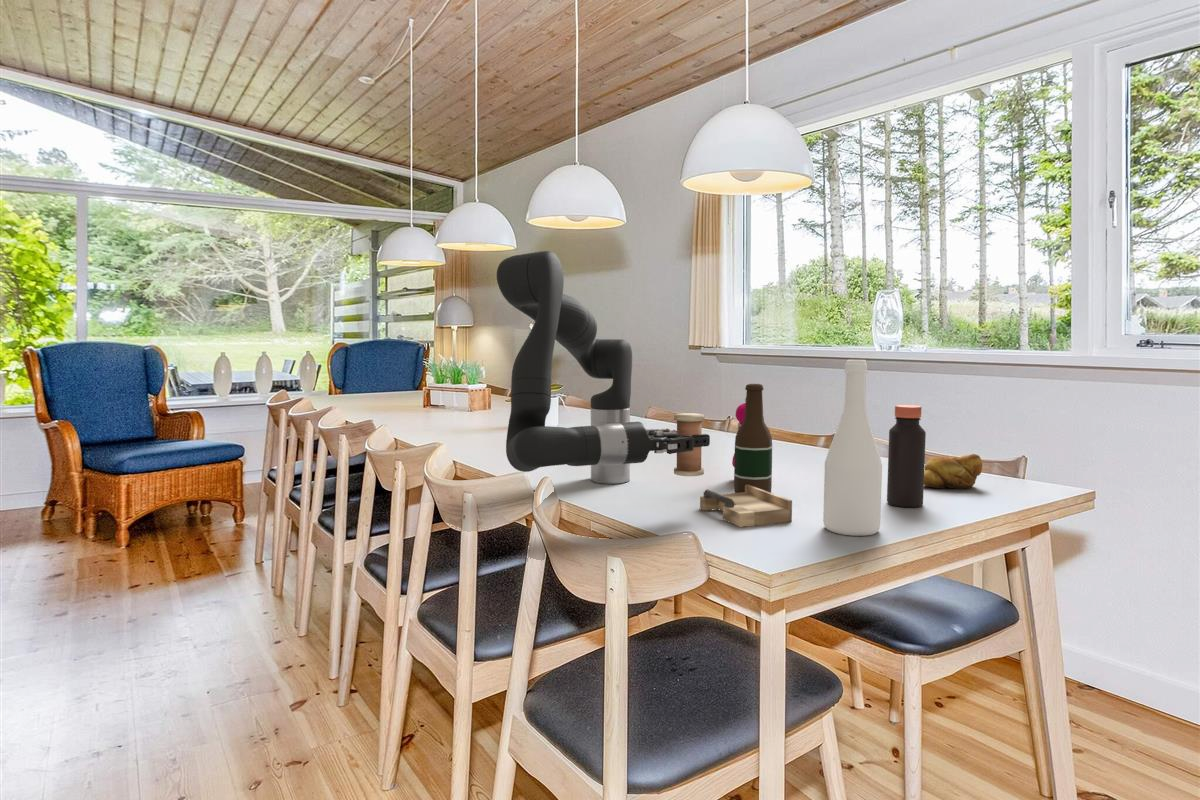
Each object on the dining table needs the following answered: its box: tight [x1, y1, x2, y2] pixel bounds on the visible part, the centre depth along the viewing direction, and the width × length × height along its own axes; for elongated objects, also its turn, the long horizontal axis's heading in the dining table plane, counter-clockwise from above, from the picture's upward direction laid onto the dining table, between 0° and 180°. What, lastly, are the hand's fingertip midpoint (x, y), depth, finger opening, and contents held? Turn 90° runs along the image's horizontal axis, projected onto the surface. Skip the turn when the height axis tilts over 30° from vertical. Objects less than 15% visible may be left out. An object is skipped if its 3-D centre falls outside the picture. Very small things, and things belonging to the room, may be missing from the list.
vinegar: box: [886, 404, 927, 509], centre depth 148 cm, size 7×7×20 cm
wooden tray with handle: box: [699, 485, 793, 528], centre depth 141 cm, size 15×11×4 cm
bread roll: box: [924, 453, 983, 490], centre depth 166 cm, size 13×10×8 cm
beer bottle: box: [733, 383, 773, 493], centre depth 155 cm, size 8×8×24 cm
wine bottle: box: [822, 359, 883, 537], centre depth 129 cm, size 10×10×30 cm
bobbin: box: [673, 412, 705, 477], centre depth 138 cm, size 6×6×11 cm
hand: (701, 437), depth 139 cm, fingers closed on bobbin, 4 cm apart
